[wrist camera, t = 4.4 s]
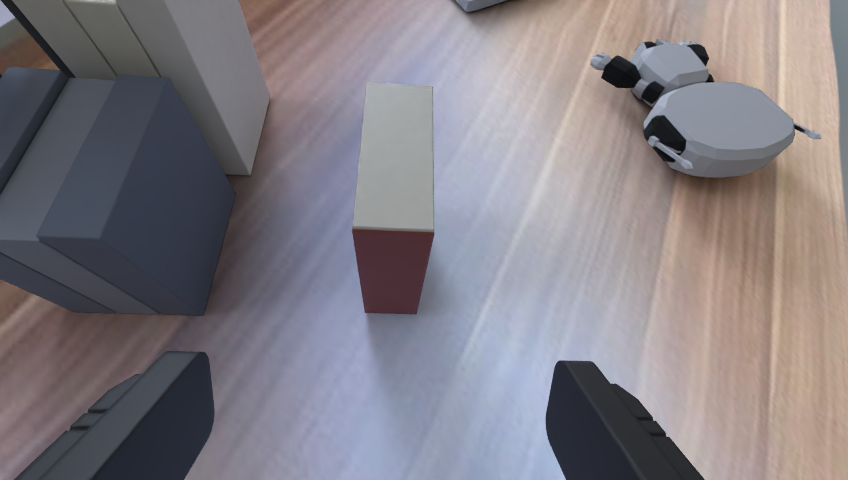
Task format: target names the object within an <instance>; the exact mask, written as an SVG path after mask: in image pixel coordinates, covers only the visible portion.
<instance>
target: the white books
mask: <svg viewBox="0 0 848 480" xmlns="http://www.w3.org/2000/svg"><path fill="white" fill-rule="evenodd" d="M1 1H2V2H3V3H4V5H5V6H6V7H7V8H8V9H9V10H10V12H11V13H12V14H13V15H14V16H15V17H16V19H17V20H18V21H19V22H20V23H21V25H22V26H23V27H24V28H25V29H26V30H27V32H28V33H29V34H30V35H31V36H32V37H33V39H34V40H35V41H36V42H37V43H38V44H39V46H40V47H41V48H42V49H43V50H44V51H45V53H46V54H47V55H48V56H49V57H50V58H51V60H52V61H53V62H54V63H55V64H56V65H57V67H58V68H59V69H60V70H61V71H62V72H63V73H64V75H65V76H66V77H67V78H68V79H69V78H84V79H99V80H114V81H116V79H117V77H118V75H131V76H146V77H161V78H169V79H170V81H171V82H172V84H173V86H174V88H175V89H176V91H177V93H178V94H179V96H180V98H181V100H182V101H183V103H184V105H185V106H186V108H187V110H188V112H189V113H190V115H191V117H192V118H193V120H194V122H195V124H196V125H197V127H198V129H199V130H200V132H201V134H202V136H203V137H204V139H205V141H206V142H207V144H208V146H209V148H210V149H211V151H212V153H213V154H214V156H215V158H216V160H217V161H218V163H219V165H220V167H221V168H222V170H223V172H224V173H225V174H229V175H249V176H250V175H251V171H252V167H253V163H254V159H255V155H256V151H257V147H258V143H259V139H260V136H261V132H262V128H263V124H264V120H265V116H266V112H267V108H268V104H269V100H270V95H269V92H268V89H267V86H266V83H265V80H264V77H263V74H262V71H261V68H260V65H259V62H258V59H257V56H256V53H255V50H254V47H253V43H252V40H251V37H250V34H249V31H248V28H247V25H246V22H245V19H244V16H243V13H242V10H241V7H240V4H239V1H238V0H1Z"/></svg>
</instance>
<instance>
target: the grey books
mask: <svg viewBox="0 0 848 480" xmlns="http://www.w3.org/2000/svg"><path fill="white" fill-rule="evenodd" d="M235 194H236V192H235V191H234V189H233V187H232V185H231V184H230V182H229V180H228V179H227V177H226V175H225V173H224V172H223V170H222V168H221V167H220V165H219V163H218V161H217V160H216V158H215V156H214V154H213V153H212V151H211V149H210V148H209V146H208V144H207V142H206V141H205V139H204V137H203V136H202V134H201V132H200V130H199V129H198V127H197V125H196V124H195V122H194V120H193V118H192V117H191V115H190V113H189V112H188V110H187V108H186V106H185V105H184V103H183V101H182V100H181V98H180V96H179V94H178V93H177V91H176V89H175V88H174V86H173V84H172V82H171V81H170V79H169V78H161V77H146V76H131V75H118V77H117V79H116V81H114V80H99V79H84V78H69V79H68V78H67V77H66V76H65V75H64V73H63V72H62V71H60V70H46V69H31V68H16V67H8V68H7V70H6V71H5V73H4V74H3V76H2V75H1V74H0V279H1V280H4V281H6V282H8V283H10V284H13V285H15V286H17V287H19V288H22V289H24V290H26V291H28V292H31V293H33V294H35V295H37V296H40V297H42V298H44V299H46V300H49V301H51V302H53V303H55V304H58V305H60V306H62V307H64V308H67V309H69V310H71V311H73V312H85V313H117V312H118V313H124V314H161V313H162V314H166V315H203V314H204V311H205V307H206V303H207V299H208V296H209V292H210V288H211V284H212V281H213V277H214V273H215V269H216V266H217V262H218V258H219V254H220V251H221V247H222V243H223V239H224V235H225V232H226V228H227V224H228V220H229V217H230V213H231V209H232V205H233V202H234V198H235Z"/></svg>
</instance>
